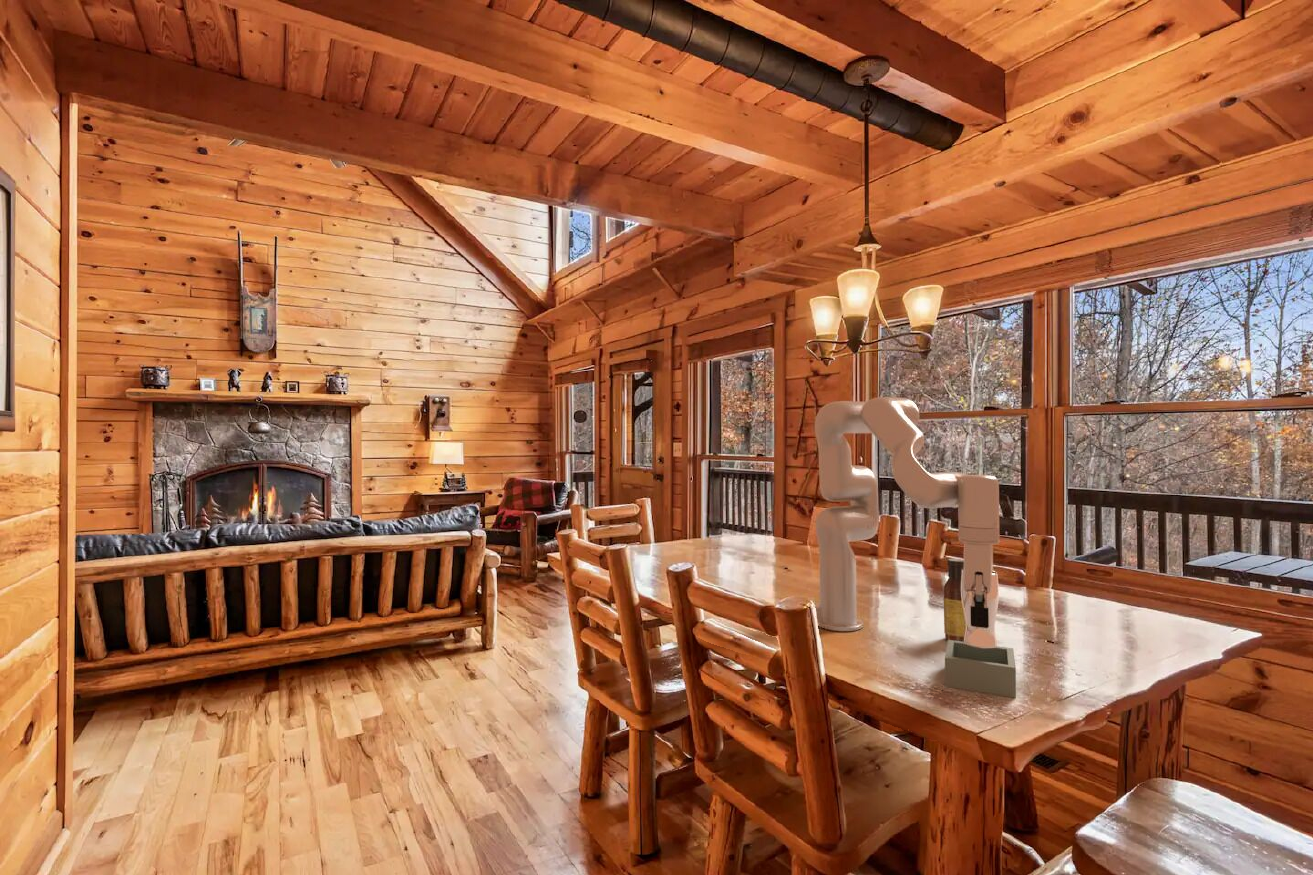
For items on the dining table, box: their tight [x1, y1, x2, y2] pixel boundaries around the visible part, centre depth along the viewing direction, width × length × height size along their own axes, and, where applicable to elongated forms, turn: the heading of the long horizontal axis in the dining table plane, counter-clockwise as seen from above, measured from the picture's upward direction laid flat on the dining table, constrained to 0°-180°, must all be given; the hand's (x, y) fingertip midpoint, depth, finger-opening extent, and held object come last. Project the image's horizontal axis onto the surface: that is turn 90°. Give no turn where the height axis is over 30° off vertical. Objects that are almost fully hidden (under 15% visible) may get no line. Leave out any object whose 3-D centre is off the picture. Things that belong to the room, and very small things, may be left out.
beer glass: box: [961, 569, 1000, 649], centre depth 128 cm, size 7×7×15 cm
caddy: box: [944, 640, 1017, 699], centre depth 128 cm, size 12×12×6 cm
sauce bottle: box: [943, 558, 966, 642], centre depth 154 cm, size 6×6×20 cm
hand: (979, 621), depth 128 cm, fingers closed on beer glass, 6 cm apart
